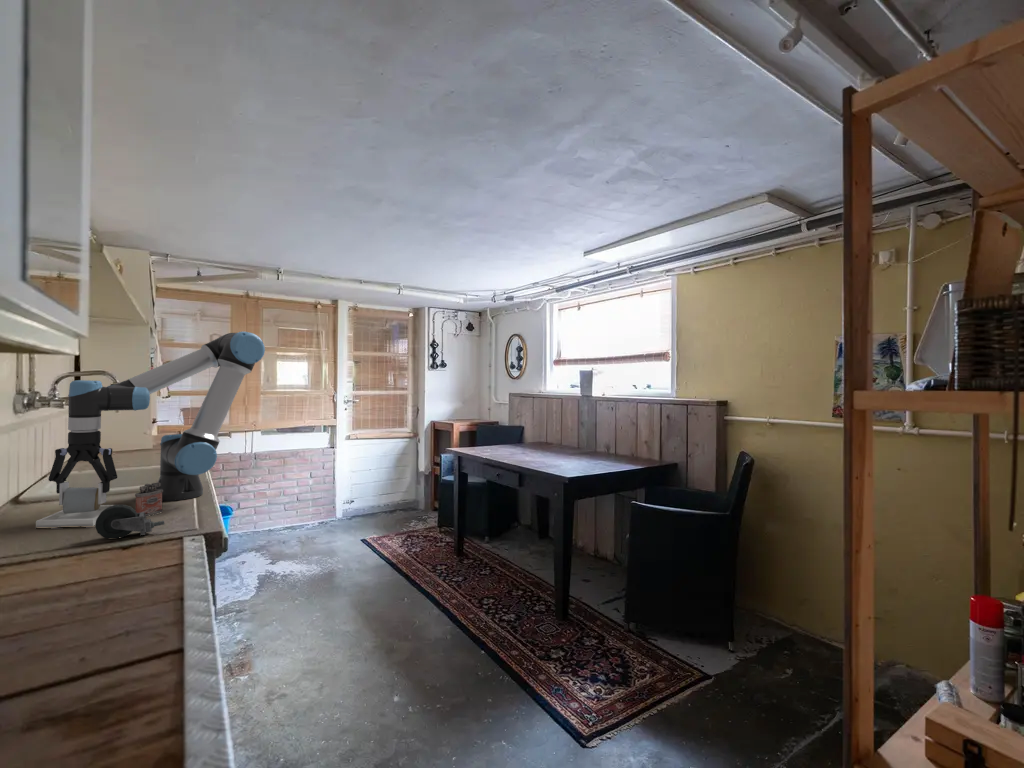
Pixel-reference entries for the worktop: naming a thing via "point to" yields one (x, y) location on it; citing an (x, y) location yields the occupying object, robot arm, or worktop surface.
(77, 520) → the trough tray
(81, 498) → the grey piece
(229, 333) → the robot arm
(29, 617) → the worktop surface
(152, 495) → the red mechanical device
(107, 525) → the caster wheel
